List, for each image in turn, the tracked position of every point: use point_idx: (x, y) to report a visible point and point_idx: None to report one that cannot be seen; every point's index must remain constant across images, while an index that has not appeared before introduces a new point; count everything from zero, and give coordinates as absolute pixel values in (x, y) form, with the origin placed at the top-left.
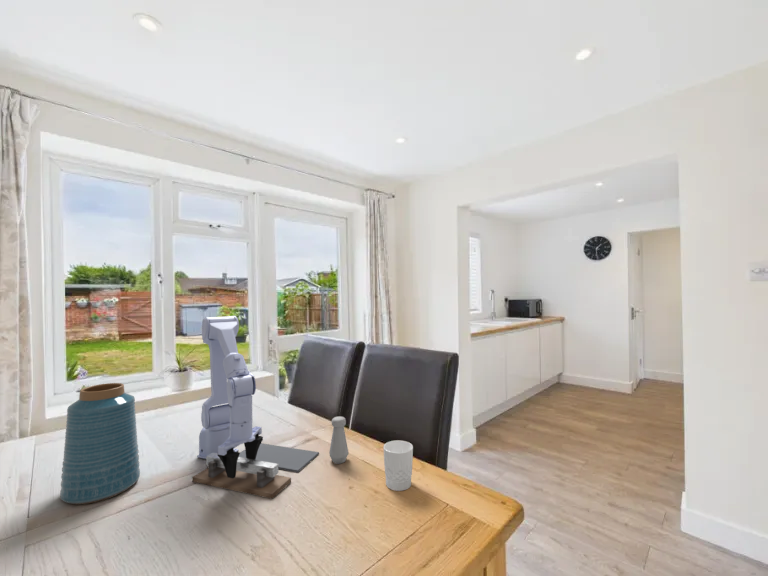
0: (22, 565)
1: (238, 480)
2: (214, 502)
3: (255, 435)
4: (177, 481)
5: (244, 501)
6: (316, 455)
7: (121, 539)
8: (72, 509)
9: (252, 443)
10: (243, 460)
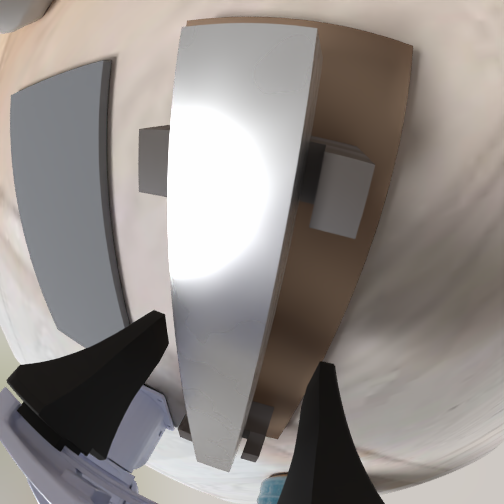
0: (488, 452)
1: (281, 328)
2: (425, 343)
3: (36, 431)
4: (283, 443)
5: (442, 216)
6: (21, 90)
7: (497, 417)
8: (374, 483)
9: (84, 417)
10: (215, 397)
